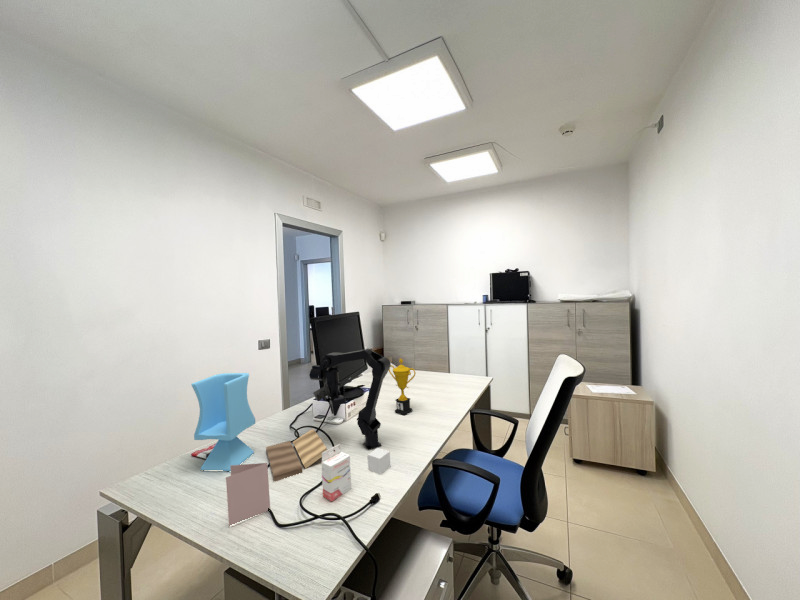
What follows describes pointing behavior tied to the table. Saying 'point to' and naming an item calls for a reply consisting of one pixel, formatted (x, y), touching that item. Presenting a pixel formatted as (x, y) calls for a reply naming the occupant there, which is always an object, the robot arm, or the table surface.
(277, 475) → the walnut board
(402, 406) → the trophy
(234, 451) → the blue pedestal chair
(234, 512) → the greeting card
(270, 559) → the table surface
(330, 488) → the ink cartridge box
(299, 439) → the oak plank
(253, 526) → the table surface
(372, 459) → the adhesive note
